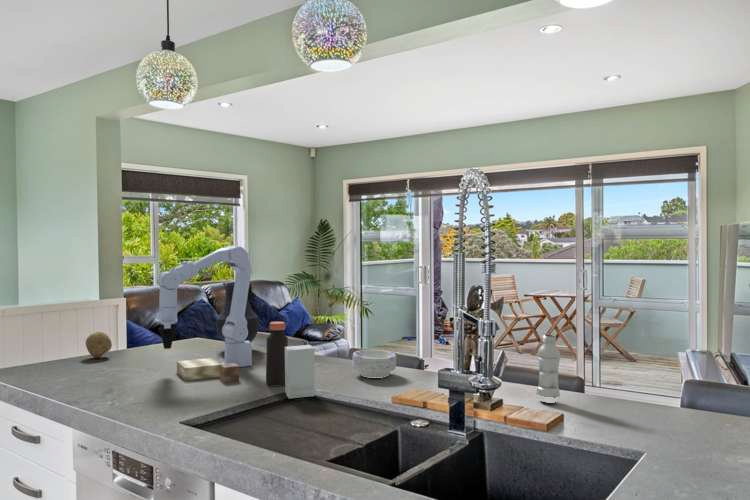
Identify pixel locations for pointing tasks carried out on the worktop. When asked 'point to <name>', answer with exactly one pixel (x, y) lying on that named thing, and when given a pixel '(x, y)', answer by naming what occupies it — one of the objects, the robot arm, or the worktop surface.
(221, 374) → the walnut cube
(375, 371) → the grey stone bowl
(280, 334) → the vinegar
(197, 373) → the birch pedestal
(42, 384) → the worktop surface
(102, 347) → the natural sponge
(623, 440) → the worktop surface
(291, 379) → the skincare box
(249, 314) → the pitcher
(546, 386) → the plastic bottle
